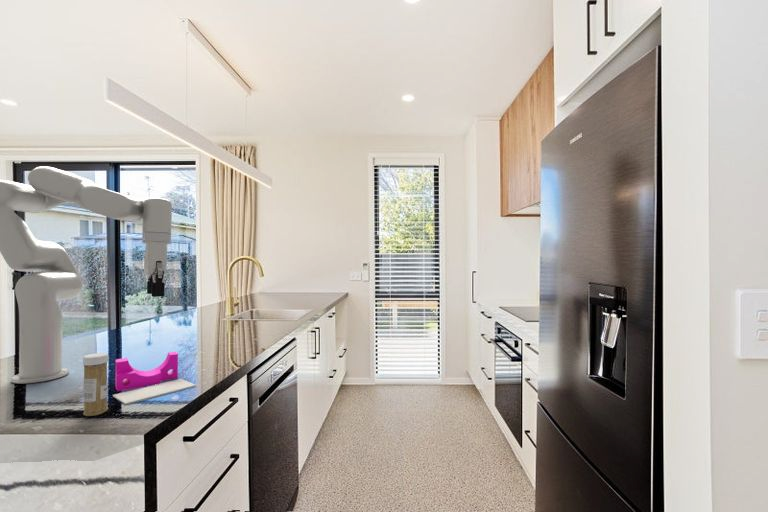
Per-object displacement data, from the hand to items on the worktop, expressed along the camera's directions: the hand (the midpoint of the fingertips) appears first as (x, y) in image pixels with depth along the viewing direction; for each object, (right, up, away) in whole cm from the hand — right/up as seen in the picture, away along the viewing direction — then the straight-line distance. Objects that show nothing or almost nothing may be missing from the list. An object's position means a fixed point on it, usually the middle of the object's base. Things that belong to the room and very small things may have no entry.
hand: (155, 295), depth 114 cm
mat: (+8, -25, -13) cm, 29 cm away
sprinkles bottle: (+3, -25, -27) cm, 37 cm away
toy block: (+2, -25, -6) cm, 26 cm away
